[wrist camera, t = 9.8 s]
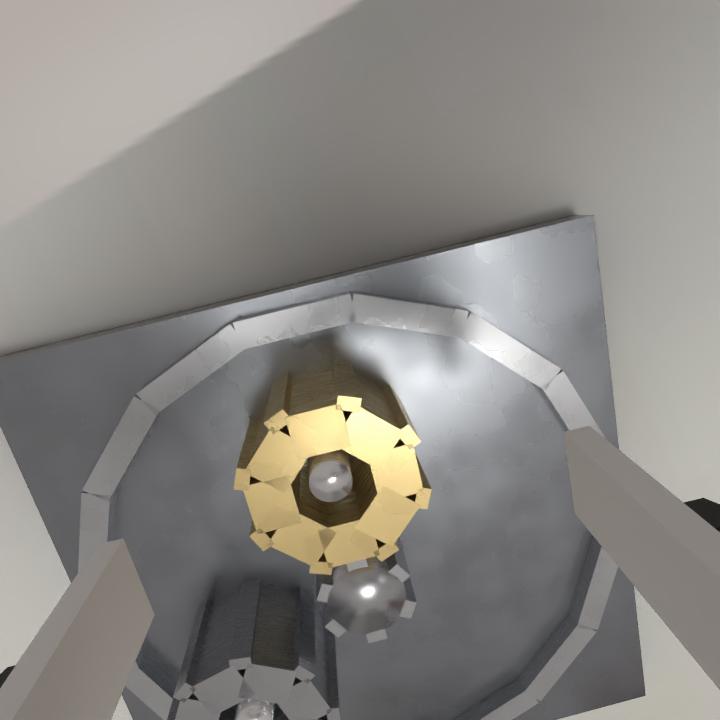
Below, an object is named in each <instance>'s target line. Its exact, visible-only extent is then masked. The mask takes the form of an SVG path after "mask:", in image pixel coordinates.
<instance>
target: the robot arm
mask: <svg viewBox="0 0 720 720" xmlns="http://www.w3.org/2000/svg"><path fill="white" fill-rule="evenodd" d="M564 439H565V446H566V453H567V461H568V468H569V475H570V482H571V490H572V497H573V504H574V512H575V514H576V516H577V517H578V518H579V519H580V520H581V522H582V523H583V524H584V525H585V527H586V528H587V529H588V530H589V531H590V533H591V534H592V535H593V536H594V538H595V539H596V540H597V541H598V542H599V544H600V545H601V546H602V547H603V548H604V550H605V551H606V552H607V553H608V555H609V556H610V557H611V558H612V559H613V561H614V562H615V563H616V564H617V565H618V567H619V568H620V569H621V570H622V572H623V573H624V574H625V575H626V576H627V578H628V579H629V580H630V581H631V582H632V584H633V585H634V586H635V587H636V589H637V590H638V591H639V592H640V593H641V595H642V596H643V597H644V598H645V600H646V601H647V602H648V603H649V604H650V606H651V607H652V608H653V609H654V610H655V612H656V613H657V614H658V615H659V617H660V618H661V619H662V620H663V621H664V623H665V624H666V625H667V626H668V627H669V629H670V630H671V631H672V632H673V634H674V635H675V636H676V637H677V638H678V640H679V641H680V642H681V643H682V645H683V646H684V647H685V648H686V649H687V651H688V652H689V653H690V654H691V655H692V657H693V658H694V659H695V660H696V662H697V663H698V664H699V665H700V666H701V668H702V669H703V670H704V671H705V672H706V674H707V675H708V676H709V677H710V679H711V680H712V681H713V682H714V683H715V685H716V686H717V687H718V688H719V690H720V504H717V503H715V502H712V501H710V500H707V499H705V498H701V499H697V500H693V501H689V502H685V503H683V502H682V501H681V500H680V499H678V498H677V497H676V496H675V495H673V494H672V493H671V492H670V491H669V490H667V489H666V488H665V487H664V486H662V485H661V484H660V483H659V482H658V481H656V480H655V479H654V478H653V477H651V476H650V475H649V474H648V473H647V472H645V471H644V470H643V469H642V468H640V467H639V466H638V465H637V464H636V463H634V462H633V461H632V460H631V459H629V458H628V457H627V456H626V455H625V454H623V453H622V452H621V451H620V450H618V449H617V448H616V447H615V446H614V445H612V444H611V443H610V442H609V441H607V440H606V439H605V438H604V437H602V436H601V435H600V434H599V433H598V432H596V431H595V430H594V429H593V428H591V427H590V426H586V427H582V428H578V429H574V430H569V431H565V432H564ZM154 615H155V614H154V612H153V610H152V607H151V605H150V602H149V600H148V597H147V595H146V592H145V590H144V588H143V585H142V583H141V580H140V578H139V575H138V573H137V571H136V568H135V566H134V563H133V561H132V558H131V556H130V553H129V551H128V549H127V546H126V544H125V541H124V539H123V538H122V539H118V540H114V541H110V542H106V543H101V544H98V545H97V546H96V548H95V549H94V550H93V552H92V553H91V555H90V556H89V558H88V559H87V561H86V562H85V564H84V565H83V567H82V568H81V570H80V571H79V573H78V574H77V576H76V577H75V579H74V580H73V582H72V583H71V584H70V586H69V587H68V589H67V590H66V592H65V593H64V595H63V596H62V598H61V599H60V601H59V602H58V604H57V605H56V607H55V608H54V610H53V611H52V613H51V614H50V616H49V617H48V619H47V620H46V621H45V623H44V624H43V626H42V627H41V629H40V630H39V632H38V633H37V635H36V636H35V638H34V639H33V641H32V642H31V644H30V645H29V647H28V648H27V650H26V651H25V653H24V654H23V655H22V657H21V658H20V660H19V661H18V663H17V664H16V665H15V666H11V667H7V668H6V669H5V670H4V671H3V672H2V673H1V674H0V720H111V718H112V716H113V713H114V711H115V709H116V706H117V704H118V701H119V699H120V697H121V694H122V692H123V689H124V687H125V685H126V682H127V680H128V677H129V675H130V673H131V670H132V668H133V665H134V663H135V661H136V658H137V656H138V654H139V651H140V649H141V646H142V644H143V642H144V639H145V637H146V634H147V632H148V630H149V627H150V625H151V622H152V620H153V618H154Z"/></svg>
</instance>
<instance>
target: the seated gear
mask: <svg viewBox="0 0 720 720" xmlns="http://www.w3.org/2000/svg"><path fill="white" fill-rule="evenodd" d="M245 699H253V700H259V701H265V702H271V703H275V704H274V718H273V720H341V715H340V699H339V683H338V667H337V651H336V636H335V635H334V634H333V633H332V632H330V631H329V630H328V629H327V628H325V626H324V620H323V618H322V617H321V615H320V614H319V612H318V611H317V609H316V608H315V607H314V595H313V594H311V593H310V592H308V591H307V590H305V589H303V588H302V587H300V588H299V589H298V590H297V591H291V590H286V589H281V588H276V587H271V586H265V585H262V584H261V579H256V580H249V581H243V583H242V589H240V590H238V591H236V592H234V593H232V594H230V595H228V596H226V597H225V598H223V599H221V600H219V601H217V602H215V603H211V602H209V601H208V600H207V601H206V602H205V603H204V604H203V606H202V607H201V608H200V609H199V610H198V612H197V613H196V617H195V621H194V624H193V628H192V631H191V635H190V638H189V642H188V645H187V649H186V652H185V656H184V660H183V663H182V667H181V670H180V674H179V677H178V681H177V684H176V688H175V691H174V695H173V700H172V704H171V708H170V711H169V715H168V718H167V720H235V717H236V710H237V704H238V703H240V702H242V701H244V700H245Z"/></svg>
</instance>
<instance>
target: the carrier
mask: <svg viewBox="0 0 720 720" xmlns="http://www.w3.org/2000/svg"><path fill="white" fill-rule="evenodd" d="M332 360H336V361H344V362H351V363H352V366H353V369H354V372H355V373H357V374H358V375H360V376H362V377H364V378H365V379H367V380H369V381H371V382H372V383H374V384H376V385H378V386H379V387H381V388H383V389H384V388H385V387H386V386H388V385H389V384H390V386H391V387H392V388H393V390H394V391H395V392H396V394H397V395H398V396H399V398H400V399H401V401H402V403H403V405H404V407H405V409H406V412H407V414H408V416H409V418H410V420H411V422H412V424H413V426H414V428H415V430H416V432H417V434H418V436H419V438H420V440H421V442H420V443H419V444H417V445H416V446H415V447H414V450H415V453H416V455H417V457H418V459H419V462H420V464H421V466H422V468H423V471H424V473H425V475H426V477H427V480H428V482H429V484H430V486H431V488H432V490H431V495H430V500H429V504H428V509H418V510H417V512H416V513H415V515H414V516H413V517H412V519H411V520H410V522H409V523H408V525H407V526H406V528H405V529H404V530H403V532H402V533H401V535H400V536H399V538H398V539H397V544H398V547H399V550H398V551H397V552H395V553H394V554H392V555H391V556H389V557H388V558H386V559H385V560H383V561H382V562H381V561H380V560H379V559H378V558H377V556H374V557H371V558H367V559H363V560H359V561H355V562H351V563H347V564H344V565H340V566H336V567H333V568H332V574H331V575H326V574H314V573H309V565H308V564H306V563H304V562H302V561H300V560H298V559H296V558H294V557H292V556H289V555H287V554H285V553H283V552H281V551H279V550H277V549H275V548H273V547H269V548H268V549H267V550H265V551H264V552H263V550H262V549H261V548H260V547H259V546H258V545H257V544H256V543H255V542H254V541H253V540H252V539H251V538H250V536H249V534H250V529H251V523H252V516H251V513H250V510H249V507H248V504H247V501H246V498H245V495H244V492H243V490H234V482H235V474H236V467H237V464H238V460H239V457H240V453H241V450H242V446H243V443H244V439H245V436H246V432H247V429H248V425H249V422H250V419H251V420H258V419H259V418H260V416H261V414H262V413H263V411H264V409H265V408H266V406H267V404H268V401H269V396H270V391H271V387H272V382H274V381H275V380H276V379H278V378H279V377H281V376H282V375H283V374H285V373H286V372H287V371H288V372H289V373H290V374H291V375H292V376H293V377H295V376H299V375H303V374H307V373H311V372H315V371H319V370H323V369H327V368H331V366H332ZM0 426H1V429H2V431H3V433H4V435H5V437H6V440H7V442H8V444H9V446H10V448H11V451H12V453H13V455H14V457H15V459H16V462H17V464H18V466H19V468H20V471H21V473H22V475H23V477H24V479H25V482H26V484H27V486H28V488H29V490H30V493H31V495H32V497H33V499H34V502H35V504H36V506H37V508H38V510H39V513H40V515H41V517H42V519H43V521H44V524H45V526H46V528H47V530H48V532H49V535H50V537H51V539H52V541H53V544H54V546H55V548H56V550H57V552H58V555H59V557H60V559H61V561H62V563H63V566H64V568H65V570H66V572H67V575H68V577H69V579H70V581H71V583H72V582H73V580H74V579H75V577H76V576H77V574H78V573H79V571H80V570H81V568H82V567H83V565H84V564H85V562H86V561H87V559H88V558H89V556H90V555H91V553H92V552H93V550H94V549H95V548H96V546H97V545H98V544H101V543H106V542H110V541H114V540H118V539H122V538H123V539H124V541H125V544H126V546H127V549H128V551H129V553H130V556H131V558H132V561H133V563H134V566H135V568H136V571H137V573H138V575H139V578H140V580H141V583H142V585H143V588H144V590H145V592H146V595H147V597H148V600H149V602H150V605H151V607H152V610H153V612H154V614H155V615H154V618H153V620H152V622H151V625H150V627H149V630H148V632H147V634H146V637H145V639H144V642H143V644H142V646H141V649H140V651H139V654H138V656H137V658H136V661H135V663H134V665H133V668H132V670H131V673H130V675H129V677H128V680H127V682H126V685H125V687H124V689H123V692H122V696H123V698H124V701H125V703H126V705H127V707H128V709H129V712H130V714H131V716H132V718H133V720H167V718H168V715H169V711H170V708H171V704H172V700H173V695H174V691H175V688H176V684H177V681H178V677H179V674H180V670H181V667H182V663H183V660H184V656H185V652H186V649H187V645H188V642H189V638H190V635H191V631H192V628H193V624H194V621H195V617H196V613H197V612H198V610H199V609H200V608H201V607H202V606H203V604H204V603H205V602H206V601H207V600H208V601H209V602H211V603H215V602H217V601H219V600H221V599H223V598H225V597H226V596H228V595H230V594H232V593H234V592H236V591H238V590H240V589H242V583H243V581H249V580H256V579H261V584H262V585H265V586H271V587H276V588H281V589H286V590H291V591H297V590H298V589H299V588H300V587H302V588H303V589H305V590H307V591H308V592H310V593H311V594H313V595H314V607H315V608H316V609H317V611H318V612H319V614H320V615H321V617H322V618H323V620H324V626H325V628H327V629H328V630H329V631H330V632H332V633H333V634H334V635H335V636H336V651H337V667H338V683H339V699H340V715H341V720H557V719H560V718H564V717H568V716H572V715H575V714H579V713H583V712H586V711H590V710H594V709H597V708H601V707H605V706H609V705H612V704H616V703H620V702H623V701H627V700H631V699H635V698H638V697H642V696H646V695H645V686H644V677H643V667H642V658H641V649H640V640H639V630H638V621H637V612H636V603H635V593H634V585H633V584H632V582H631V581H630V580H629V579H628V578H627V576H626V575H625V574H624V573H623V572H622V570H621V569H620V568H619V567H618V565H617V564H616V563H615V562H614V561H613V559H612V558H611V557H610V556H609V555H608V553H607V552H606V551H605V550H604V548H603V547H602V546H601V545H600V544H599V542H598V541H597V540H596V539H595V538H594V536H593V535H592V534H591V533H590V531H589V530H588V529H587V528H586V527H585V525H584V524H583V523H582V522H581V520H580V519H579V518H578V517H577V516H576V514H575V512H574V504H573V497H572V490H571V482H570V475H569V468H568V461H567V453H566V446H565V439H564V432H565V431H569V430H574V429H578V428H582V427H586V426H590V427H591V428H593V429H594V430H595V431H596V432H598V433H599V434H600V435H601V436H602V437H604V438H605V439H606V440H607V441H609V442H610V443H611V444H612V445H614V446H615V447H616V448H617V449H618V450H619V445H618V436H617V427H616V418H615V408H614V399H613V390H612V381H611V371H610V362H609V353H608V344H607V334H606V325H605V316H604V307H603V297H602V288H601V279H600V270H599V260H598V251H597V242H596V233H595V223H594V215H574V216H570V217H565V218H561V219H557V220H553V221H549V222H545V223H541V224H537V225H533V226H529V227H525V228H521V229H517V230H513V231H508V232H504V233H500V234H496V235H492V236H488V237H484V238H480V239H476V240H472V241H468V242H464V243H460V244H456V245H451V246H447V247H443V248H439V249H435V250H431V251H427V252H423V253H419V254H415V255H411V256H407V257H403V258H399V259H394V260H390V261H386V262H382V263H378V264H374V265H370V266H366V267H362V268H358V269H354V270H350V271H346V272H341V273H337V274H333V275H329V276H325V277H321V278H317V279H313V280H309V281H305V282H301V283H297V284H293V285H289V286H284V287H280V288H276V289H272V290H268V291H264V292H260V293H256V294H252V295H248V296H244V297H240V298H236V299H232V300H227V301H223V302H219V303H215V304H211V305H207V306H203V307H199V308H195V309H191V310H187V311H183V312H179V313H175V314H170V315H166V316H162V317H158V318H154V319H150V320H146V321H142V322H138V323H134V324H130V325H126V326H122V327H118V328H113V329H109V330H105V331H101V332H97V333H93V334H89V335H85V336H81V337H77V338H73V339H69V340H65V341H61V342H56V343H52V344H48V345H44V346H40V347H36V348H32V349H28V350H24V351H20V352H16V353H12V354H8V355H4V356H0ZM354 457H355V456H353V455H351V454H349V453H348V452H346V451H344V450H342V449H340V450H336V451H332V452H328V453H324V454H320V455H316V456H312V457H308V458H307V460H306V461H308V462H309V487H310V490H311V492H312V494H313V495H314V496H315V497H316V498H318V499H319V500H322V501H325V502H335V501H339V500H341V499H343V498H344V497H345V496H347V494H348V493H349V492H350V490H351V488H352V483H353V480H352V474H351V467H350V463H351V462H352V460H353V459H354ZM274 704H275V703H271V702H265V701H259V700H253V699H245V700H244V701H242V702H240V703H238V704H237V710H236V717H235V720H273V718H274Z"/></svg>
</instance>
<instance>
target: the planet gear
mask: <svg viewBox="0 0 720 720" xmlns="http://www.w3.org/2000/svg"><path fill="white" fill-rule="evenodd" d="M420 442H421V440H420V438H419V436H418V434H417V432H416V430H415V428H414V426H413V424H412V422H411V420H410V418H409V416H408V414H407V412H406V409H405V407H404V405H403V403H402V401H401V399H400V398H399V396H398V395H397V394H396V392H395V391H394V390H393V388H392V387H391V386H390V384H389V385H388V386H386V387H385V388H384V389H383V388H381V387H379V386H378V385H376V384H374V383H372V382H371V381H369V380H367V379H365V378H364V377H362V376H360V375H358V374H357V373H355V372H354V369H353V366H352V363H351V362H344V361H336V360H332V366H331V368H327V369H323V370H319V371H315V372H311V373H307V374H303V375H299V376H295V377H293V376H292V375H291V374H290V373H289V372H288V371H287V372H286V373H285V374H283V375H282V376H281V377H279V378H278V379H276V380H275V381H274V382H272V387H271V391H270V396H269V401H268V404H267V406H266V408H265V409H264V411H263V413H262V414H261V416H260V418H259V419H258V420H251V419H250V422H249V425H248V429H247V432H246V436H245V439H244V443H243V446H242V450H241V453H240V457H239V460H238V464H237V467H236V474H235V482H234V490H243V492H244V495H245V498H246V501H247V504H248V507H249V510H250V513H251V516H252V523H251V529H250V534H249V536H250V538H251V539H252V540H253V541H254V542H255V543H256V544H257V545H258V546H259V547H260V548H261V549H262V550H263V552H264V551H265V550H267V549H268V548H269V547H273V548H275V549H277V550H279V551H281V552H283V553H285V554H287V555H289V556H292V557H294V558H296V559H298V560H300V561H302V562H304V563H306V564H308V565H309V573H314V574H326V575H331V574H332V568H333V567H336V566H340V565H344V564H347V563H351V562H355V561H359V560H363V559H367V558H371V557H374V556H377V558H378V559H379V560H380V561H381V562H382V561H383V560H385V559H386V558H388V557H389V556H391V555H392V554H394V553H395V552H397V551H398V550H399V547H398V544H397V539H398V538H399V536H400V535H401V533H402V532H403V530H404V529H405V528H406V526H407V525H408V523H409V522H410V520H411V519H412V517H413V516H414V515H415V513H416V512H417V510H418V509H428V504H429V500H430V495H431V490H432V488H431V486H430V484H429V482H428V480H427V477H426V475H425V473H424V471H423V468H422V466H421V464H420V462H419V459H418V457H417V455H416V453H415V450H414V447H415V446H416V445H417V444H419V443H420ZM340 449H342V450H344V451H346V452H348V453H349V454H351V455H353V456H355V457H354V459H353V460H352V462H351V463H350V467H351V474H352V480H353V483H352V488H351V490H350V492H349V493H348V494H347V496H345V497H344V498H343V499H341V500H339V501H335V502H325V501H322V500H319V499H318V498H316V497H315V496H314V495H313V494H312V492H311V490H310V487H309V462H308V461H306V460H307V458H308V457H312V456H316V455H320V454H324V453H328V452H332V451H336V450H340Z"/></svg>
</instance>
